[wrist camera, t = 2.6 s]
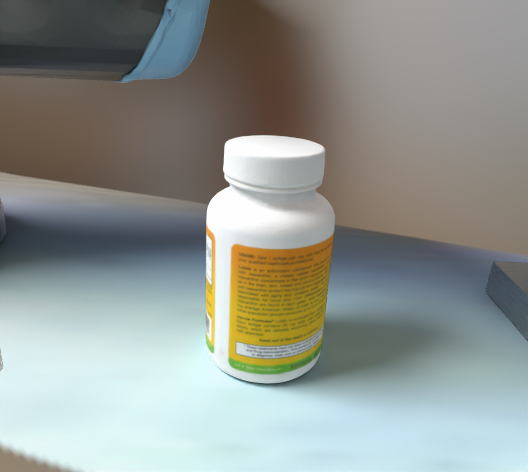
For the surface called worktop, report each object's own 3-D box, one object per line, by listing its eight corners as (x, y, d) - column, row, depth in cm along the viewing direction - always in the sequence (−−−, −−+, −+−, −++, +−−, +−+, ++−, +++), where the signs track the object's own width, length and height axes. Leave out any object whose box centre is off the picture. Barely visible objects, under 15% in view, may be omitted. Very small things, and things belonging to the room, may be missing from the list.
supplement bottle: (343, 352, 23) (371, 149, 20) (263, 406, 20) (278, 170, 16) (263, 307, 27) (273, 126, 23) (182, 345, 23) (178, 139, 19)
